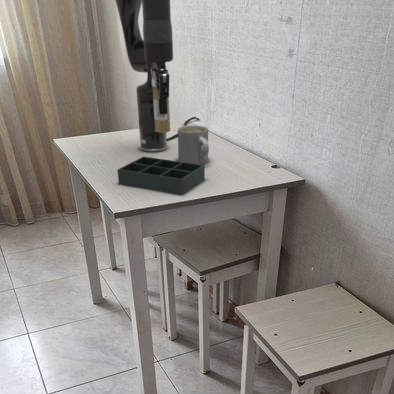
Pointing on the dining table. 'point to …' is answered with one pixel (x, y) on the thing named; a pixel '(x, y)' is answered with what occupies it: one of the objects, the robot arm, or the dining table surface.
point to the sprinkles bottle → (160, 119)
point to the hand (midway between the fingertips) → (161, 111)
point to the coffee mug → (193, 144)
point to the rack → (161, 175)
